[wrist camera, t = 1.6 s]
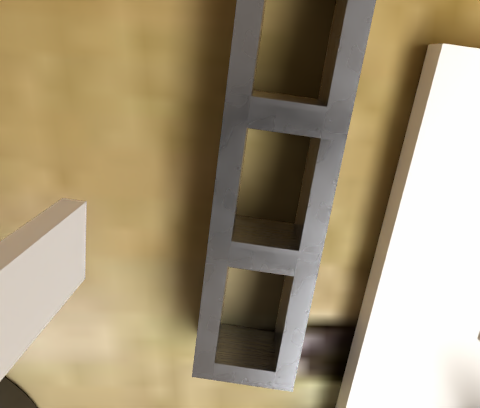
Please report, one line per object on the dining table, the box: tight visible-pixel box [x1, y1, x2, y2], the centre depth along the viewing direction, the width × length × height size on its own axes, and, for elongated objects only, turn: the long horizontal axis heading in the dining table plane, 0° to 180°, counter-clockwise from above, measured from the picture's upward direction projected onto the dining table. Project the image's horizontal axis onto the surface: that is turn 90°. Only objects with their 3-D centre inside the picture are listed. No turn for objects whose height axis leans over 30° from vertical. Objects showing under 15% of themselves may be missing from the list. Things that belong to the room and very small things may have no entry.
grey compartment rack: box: [192, 0, 376, 392], centre depth 24 cm, size 24×6×4 cm, turn 172°
